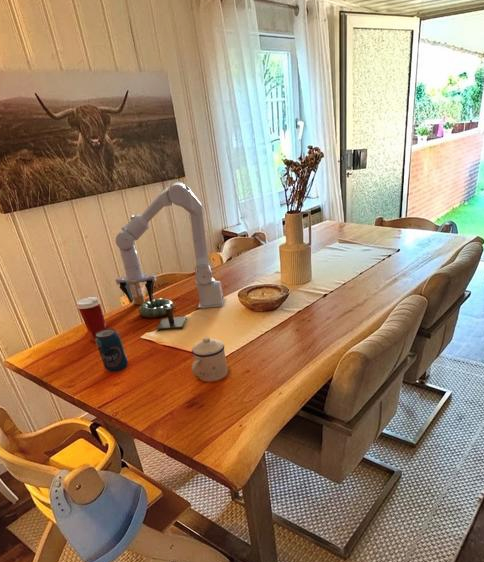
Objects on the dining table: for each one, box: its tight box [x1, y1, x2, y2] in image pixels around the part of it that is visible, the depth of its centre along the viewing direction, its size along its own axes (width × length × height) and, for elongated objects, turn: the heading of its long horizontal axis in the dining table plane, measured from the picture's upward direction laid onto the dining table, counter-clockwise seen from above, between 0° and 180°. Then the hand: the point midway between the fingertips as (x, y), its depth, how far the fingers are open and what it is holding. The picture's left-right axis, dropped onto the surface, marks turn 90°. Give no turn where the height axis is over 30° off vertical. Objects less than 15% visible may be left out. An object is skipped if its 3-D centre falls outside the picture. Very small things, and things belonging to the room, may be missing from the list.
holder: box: [156, 307, 187, 332], centre depth 155 cm, size 9×9×6 cm
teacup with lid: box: [190, 336, 229, 383], centre depth 121 cm, size 12×9×12 cm
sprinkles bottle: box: [125, 272, 146, 306], centre depth 175 cm, size 5×5×13 cm
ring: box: [138, 297, 175, 319], centre depth 167 cm, size 13×13×4 cm
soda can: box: [95, 327, 129, 373], centre depth 129 cm, size 7×7×12 cm
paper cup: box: [76, 296, 108, 343], centre depth 148 cm, size 8×8×14 cm
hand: (141, 300), depth 165 cm, fingers open, 7 cm apart
